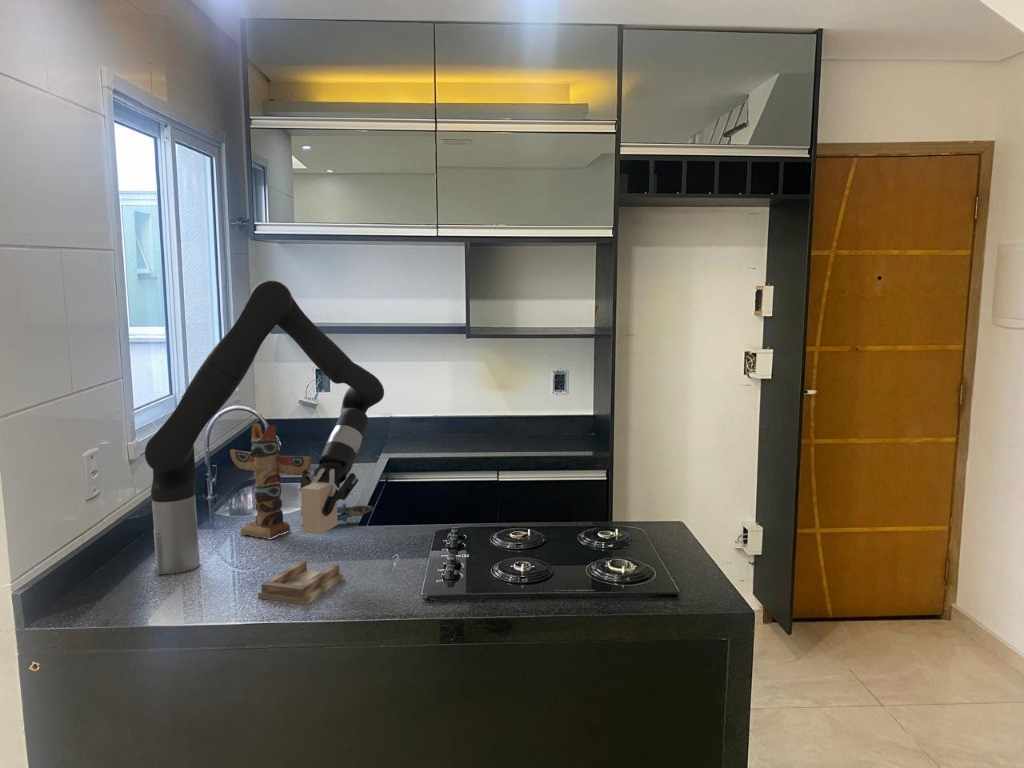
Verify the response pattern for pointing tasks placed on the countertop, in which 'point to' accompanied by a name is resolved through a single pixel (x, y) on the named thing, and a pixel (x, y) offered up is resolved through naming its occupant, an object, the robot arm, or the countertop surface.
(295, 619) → the countertop surface
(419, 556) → the countertop surface
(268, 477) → the totem pole
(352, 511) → the pliers
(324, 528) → the clay block
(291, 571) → the wooden rimmed tray
